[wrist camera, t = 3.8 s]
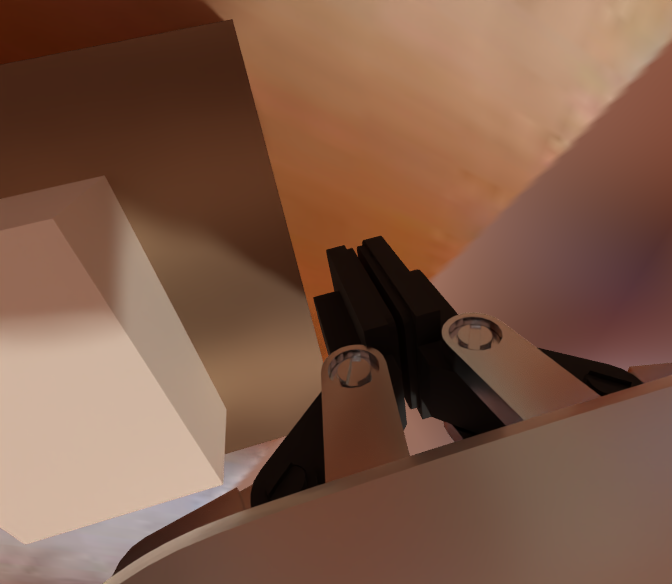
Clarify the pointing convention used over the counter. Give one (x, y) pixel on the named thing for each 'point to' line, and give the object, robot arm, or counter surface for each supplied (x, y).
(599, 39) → the counter surface
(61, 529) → the beige rectangular block
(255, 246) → the plate
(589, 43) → the counter surface
